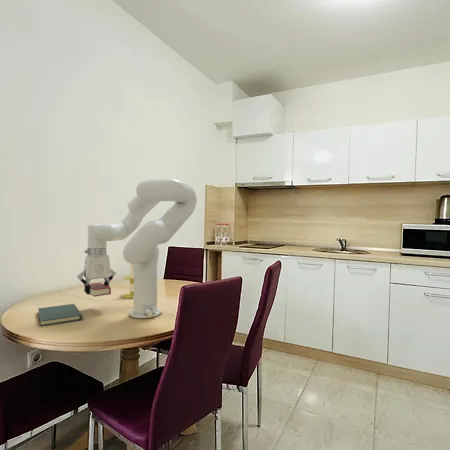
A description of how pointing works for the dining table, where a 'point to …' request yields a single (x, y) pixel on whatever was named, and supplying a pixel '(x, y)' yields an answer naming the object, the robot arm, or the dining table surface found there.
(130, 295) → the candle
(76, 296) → the dining table surface
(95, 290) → the burgundy book
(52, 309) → the green book
